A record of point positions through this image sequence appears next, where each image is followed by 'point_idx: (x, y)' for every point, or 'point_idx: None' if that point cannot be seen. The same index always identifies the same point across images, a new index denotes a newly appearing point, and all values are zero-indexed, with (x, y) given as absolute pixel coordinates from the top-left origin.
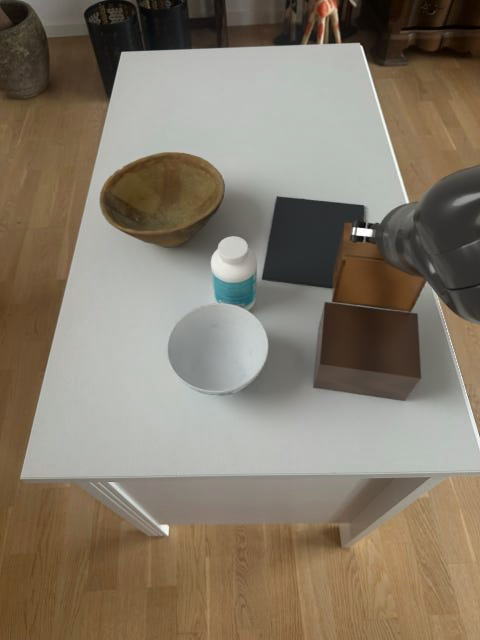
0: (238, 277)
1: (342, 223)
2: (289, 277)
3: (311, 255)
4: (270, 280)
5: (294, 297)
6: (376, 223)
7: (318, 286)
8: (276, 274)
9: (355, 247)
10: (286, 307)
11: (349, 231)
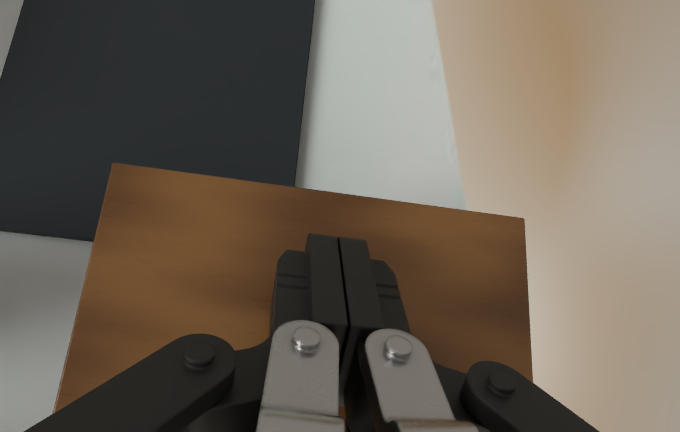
0: None
1: (250, 20)
2: (56, 220)
3: (140, 134)
4: None
5: (69, 293)
6: (188, 366)
7: None
8: (11, 209)
9: (138, 352)
10: (36, 334)
11: (125, 230)
